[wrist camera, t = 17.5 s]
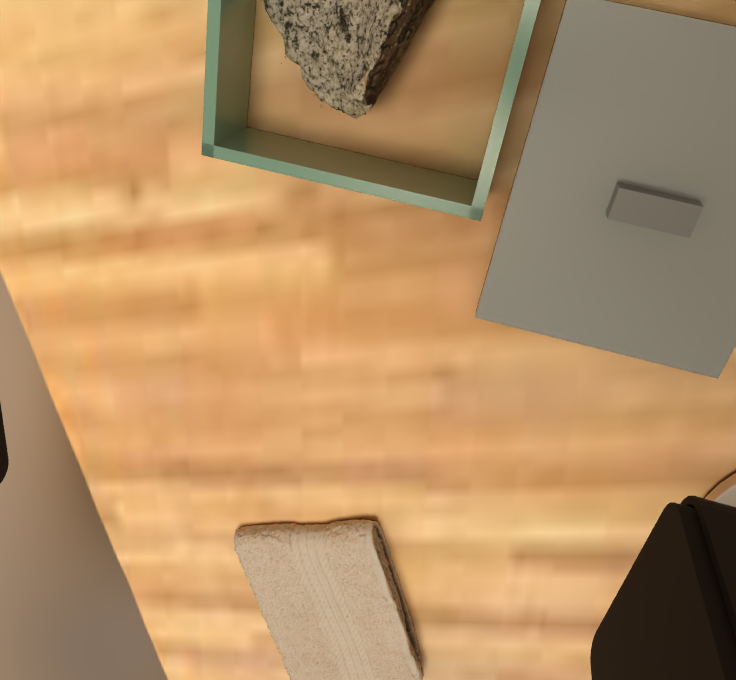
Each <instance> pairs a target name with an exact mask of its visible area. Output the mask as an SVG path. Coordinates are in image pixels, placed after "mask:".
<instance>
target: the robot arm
mask: <svg viewBox="0 0 736 680" xmlns="http://www.w3.org/2000/svg"><path fill="white" fill-rule="evenodd" d="M7 469H8V453H7V446H6V439H5V433H4V426H3V418H2V411H1V404H0V483H1V482H2V480H3V479H4V477H5V475H6V472H7ZM590 659H591V674H592V680H736V473H735V474H733V475H732V476H730V477H729V478H727V479H726V480H724V481H723V482H721V483H720V484H719V485H718V486H717V487H716V488H714V489H713V490H712V491H711V492H710V493H709V494H708V495H707V496H706V498H705V499H704V498H700V497H696V496H688V497H686V498H685V499H684V500H683V501H682V503H681V504H677V503H674V502H673V503H669V504H668V505H667V506H666V507H665V508H664V510H663V512H662V513H661V515H660V517H659V519H658V521H657V523H656V524H655V526H654V528H653V530H652V532H651V533H650V535H649V537H648V539H647V541H646V542H645V544H644V546H643V548H642V550H641V552H640V553H639V555H638V557H637V559H636V561H635V562H634V564H633V566H632V568H631V570H630V571H629V573H628V575H627V577H626V579H625V581H624V582H623V584H622V586H621V588H620V590H619V591H618V593H617V595H616V597H615V599H614V600H613V602H612V604H611V606H610V608H609V610H608V611H607V613H606V615H605V617H604V619H603V620H602V622H601V624H600V626H599V628H598V629H597V631H596V633H595V636H594V639H593V642H592V648H591V657H590Z"/></svg>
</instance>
